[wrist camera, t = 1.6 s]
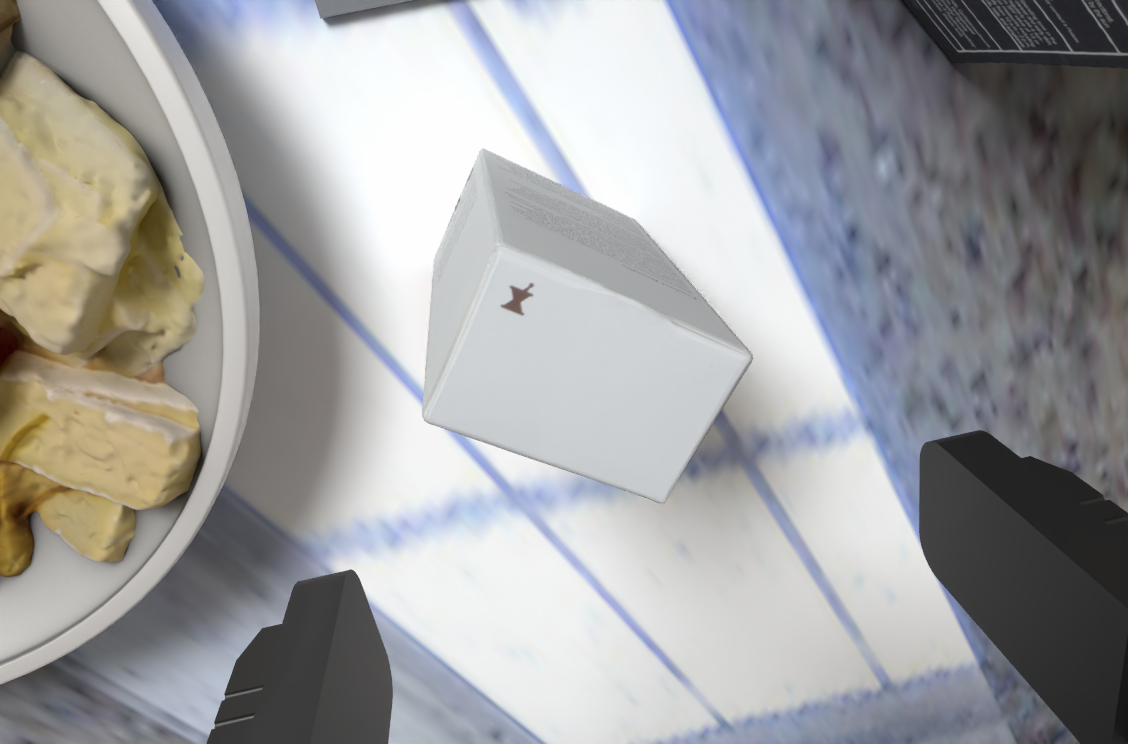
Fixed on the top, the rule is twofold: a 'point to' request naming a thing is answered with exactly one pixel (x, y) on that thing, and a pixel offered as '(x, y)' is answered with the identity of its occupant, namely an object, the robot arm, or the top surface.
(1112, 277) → the top surface
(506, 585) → the top surface
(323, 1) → the card
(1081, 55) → the small box
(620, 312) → the skincare box
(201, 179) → the bowl
